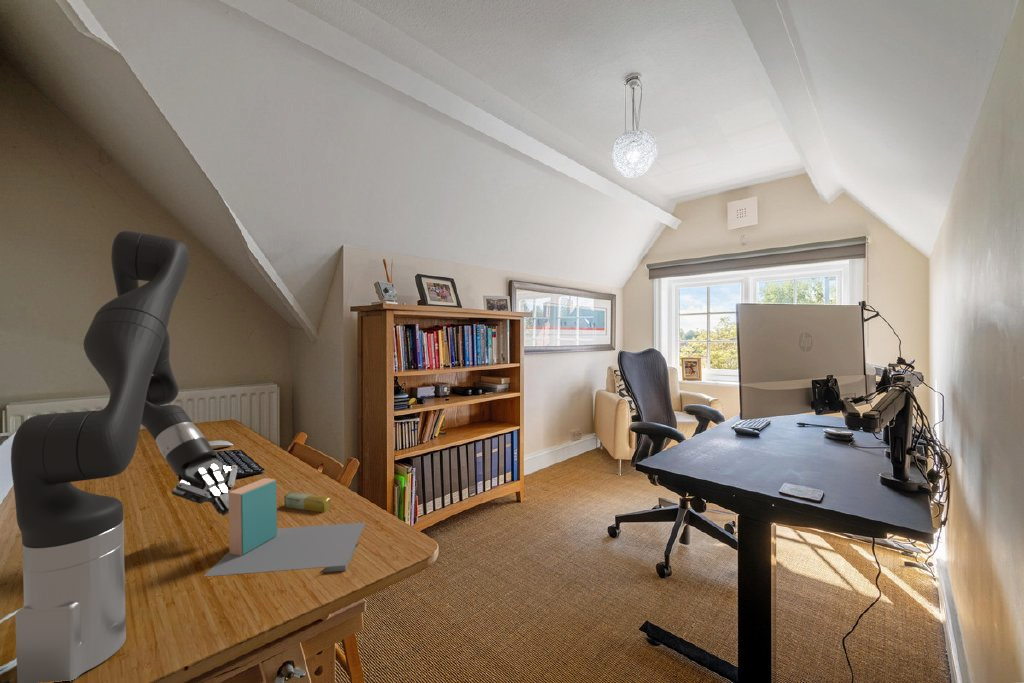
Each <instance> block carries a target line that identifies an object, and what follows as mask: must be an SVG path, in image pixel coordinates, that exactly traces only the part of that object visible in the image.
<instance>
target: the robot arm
mask: <svg viewBox="0 0 1024 683" xmlns="http://www.w3.org/2000/svg"><path fill="white" fill-rule="evenodd" d="M112 242H113V243H112V247H111V257H110V258H111V269H112V273H113V278H114V279H113V280H114V283H115V284H114V285H115V288H116V289H115V290H116V293H117V297H114V298H113V299H111V300H110V301H108V302H106V303H105V304H103V305H102V306H101V307H100V308H99V309H98V311H97V312H96V313H95V315H94V317H93V319H92V320H91V322H90V324H89V327H88V329H87V332H86V334H85V336H84V339H83V350H84V353H85V355H86V357H87V360H89V362H90V363H91V365H92V366H93V368H94V369H95V371H96V372H97V373H98V374H99V376H100V377H101V378H102V380H103V381H104V382H105V384H106V387H107V388H108V389H109V390H108V391H109V392H110V394H109V400H108V402H107V405H105V407H104V408H103V409H100V410H85V411H84V410H83V411H70V412H69V411H68V412H67V411H66V412H53V413H46V414H45V413H44V414H43V413H42V414H37V415H36V414H35V415H34V416H31V417H29V418H27V419H26V420H24V421H22V423H21V425H20V426H19V427H17V429H16V431H15V434H14V436H13V440H12V443H11V447H10V450H11V451H10V466H11V468H10V469H11V477H12V478H11V479H12V485H13V493H14V501H15V502H14V503H15V514H16V516H15V517H16V523H17V526H18V528H19V530H20V533H21V540H22V541H21V544H22V578H23V580H22V582H23V585H22V586H23V607H21V608H20V609H19V610H17V611H16V612H15V614H14V617H15V640H16V641H15V644H16V645H15V647H16V652H15V653H16V679H17V681H16V682H17V683H38V682H39V683H40V682H50V681H61V680H69V681H70V682H72V681H71V680H73V681H75V680H76V679H77V678H78V677H79V676H81V675H82V674H84V673H85V672H87V671H89V670H91V669H93V668H95V667H97V666H99V665H100V664H102V663H104V662H105V661H106V660H109V658H111V657H112V656H113V655H114V654H116V653H117V652H118V651H119V650H120V649H121V648H122V646H123V645H124V643H125V642H126V640H127V628H126V627H127V625H126V624H127V623H126V621H127V620H126V618H127V617H126V588H125V587H126V578H125V577H126V576H125V531H124V530H125V529H124V528H125V527H124V523H125V522H124V505H123V502H122V501H121V500H120V499H118V498H116V497H112V496H107V495H101V494H95V493H91V492H87V491H84V490H82V489H80V488H78V487H76V486H75V485H74V484H73V482H81V481H82V482H83V481H88V480H98V479H105V478H110V477H111V478H112V477H115V476H118V475H120V474H122V473H123V472H124V471H126V469H127V468H128V467H129V465H130V464H131V462H132V460H133V458H134V455H135V453H136V450H137V449H136V448H137V446H138V441H139V438H140V437H139V436H140V432H141V431H140V430H141V425H142V426H143V427H144V428H145V429H146V430H147V431H148V433H149V434H150V436H151V437H152V439H153V440H154V442H155V444H156V445H157V448H158V450H159V452H160V453H161V455H162V457H163V458H164V460H165V462H166V463H167V465H168V466H169V467H170V469H171V470H172V472H173V473H174V474H175V476H177V477H178V478H177V479H178V483H177V484H176V485H175V487H174V488H173V489H172V490H171V494H172V495H174V496H176V497H179V498H182V499H184V500H188V501H191V502H193V503H197V504H199V505H201V504H204V503H206V502H207V503H211V505H212V506H213V508H214V509H215V511H216V512H217V513H218V514H219V515H222V516H226V515H229V492H231V491H232V489H233V488H234V486H235V484H236V478H237V472H238V469H239V467H238V465H236V464H232V465H231V466H226V465H224V463H223V462H222V461H220V460H219V459H218V458H217V453H216V451H215V450H214V448H213V447H212V446H211V444H210V443H209V441H208V440H207V438H206V437H205V436H204V434H203V432H202V431H201V430H200V429H199V428H198V427H197V426H196V425H195V424H194V422H193V421H192V420H191V418H190V417H189V415H188V414H187V413H186V411H185V410H184V409H183V407H181V406H180V405H177V404H170V403H172V402H174V401H175V400H176V398H177V397H178V395H179V386H178V383H177V380H176V379H175V376H174V374H173V370H172V367H171V363H170V344H171V343H170V342H171V340H170V335H169V331H168V325H169V321H170V316H171V313H172V312H171V311H172V309H173V306H174V303H175V300H176V298H177V296H178V293H179V291H180V289H181V287H182V284H183V282H184V280H185V277H186V275H187V272H188V269H189V264H190V252H189V251H190V250H189V249H188V247H187V245H186V244H185V243H184V242H182V241H180V240H177V239H175V238H171V237H167V236H166V237H165V236H161V235H155V234H150V233H143V232H137V231H132V230H131V231H130V230H123V231H120V232H118V234H116V236H115V237H114V238H113V241H112ZM139 281H145V282H147V283H145V284H143V285H141V286H140V285H139ZM74 679H75V680H74Z"/></svg>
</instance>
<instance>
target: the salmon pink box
mask: <svg viewBox="0 0 1024 683" xmlns="http://www.w3.org/2000/svg"><path fill="white" fill-rule="evenodd" d="M228 494H229V513H228V533H229V534H228V535H229V536H228V545H229V550H228V551H230V554H235V555H240V556H242V555H243V554H245V553H247V552H249V551H251V550H252V549H254V548H256V547H258V546H259V545H261V544H263V543H265V542H267V541H268V540H270V539H272V538H274V537H275V536H277V528H278V526H277V525H278V522H277V521H278V519H277V518H278V516H277V513H278V512H277V480H276V478H275V479H274V478H269V477H268V478H266V477H264V478H262V479H259V480H256V481H254V482H251V483H249V484H246V485H244V486H241V487H238V488H236V489H233V490H230V491H229V493H228Z"/></svg>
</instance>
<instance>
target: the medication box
mask: <svg viewBox="0 0 1024 683" xmlns="http://www.w3.org/2000/svg"><path fill="white" fill-rule="evenodd" d="M283 498H284V499H283V500H284V508H291V509H298V510H303V511H304V510H305V511H312V512H317V513H325V512H327V511H329V510H330V509H332V504H331V503H332V502H331V501H332V500H331V499H332V498H331V497H329V496H321V495H315V494H308V493H300V492H294V491H291V492H289V493H287V494H285V495H284V496H283Z"/></svg>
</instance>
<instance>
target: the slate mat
mask: <svg viewBox="0 0 1024 683" xmlns="http://www.w3.org/2000/svg"><path fill="white" fill-rule="evenodd" d="M366 524H367V522H355V523H354V522H353V523H351V522H350V523H338V524H336V523H335V524H323V525H309V526H307V525H306V526H294V527H293V526H292V527H290V526H289V527H277V536H275V537H274V538H272V539H270V540H268V541H267V542H265V543H263V544H261V545H259V546H258V547H256V548H254V549H252V550H251V551H249V552H247V553H245V554H243V555H242V556H240V555H235V554H230V550H228V552H227V553H226V554H225V555H223V557H222V558H221V559H220V560H218V561H217V563H215V564H214V565H213V566H212V567H211V569H209V570H208V571H207V572H206V573H205V574H204V575H203V576H202V577H203V578H205V577H207V578H208V577H219V576H230V575H243V574H256V573H257V574H258V573H269V572H280V571H281V572H282V571H283V572H285V571H293V570H294V571H295V570H305V569H306V570H308V569H317V568H318V569H320V568H323V569H322V570H321V571H319V572H318V573H319V574H320V573H321V574H322V573H334V572H345V571H346V570H347V568H348V566H349V564H350V562H351V560H352V558H353V556H354V554H355V551H356V549H357V548H358V545H359V543H358V541H359V538H360V537H361V534H362V532H363V530H364V528H365V526H366Z"/></svg>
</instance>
